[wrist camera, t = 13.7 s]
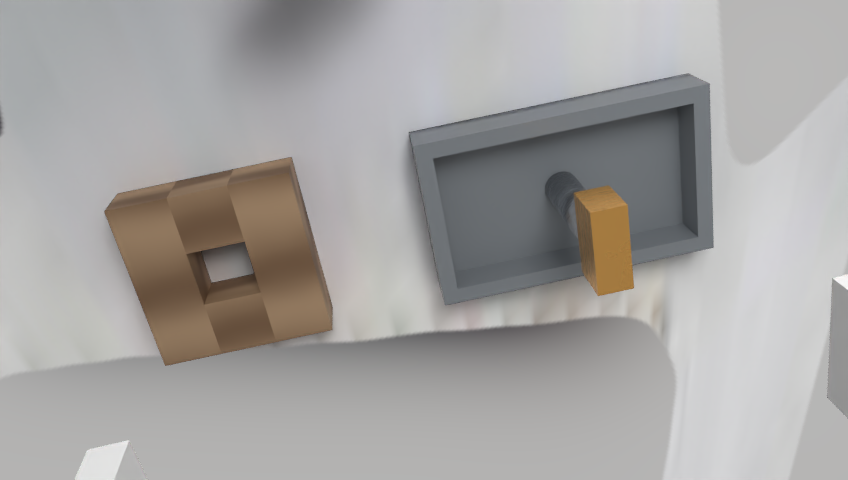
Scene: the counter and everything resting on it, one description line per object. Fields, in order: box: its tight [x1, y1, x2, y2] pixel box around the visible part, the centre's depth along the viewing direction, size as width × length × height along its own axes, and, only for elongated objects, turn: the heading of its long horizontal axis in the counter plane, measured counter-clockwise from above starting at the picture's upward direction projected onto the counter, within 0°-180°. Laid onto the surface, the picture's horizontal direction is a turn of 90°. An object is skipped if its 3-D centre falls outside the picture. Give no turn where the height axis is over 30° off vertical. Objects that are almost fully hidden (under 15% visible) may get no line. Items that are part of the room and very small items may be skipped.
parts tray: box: [409, 74, 713, 305], centre depth 48 cm, size 11×18×3 cm, turn 101°
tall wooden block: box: [545, 171, 634, 296], centre depth 44 cm, size 5×2×10 cm, turn 11°
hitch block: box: [104, 157, 333, 366], centre depth 48 cm, size 11×11×3 cm
